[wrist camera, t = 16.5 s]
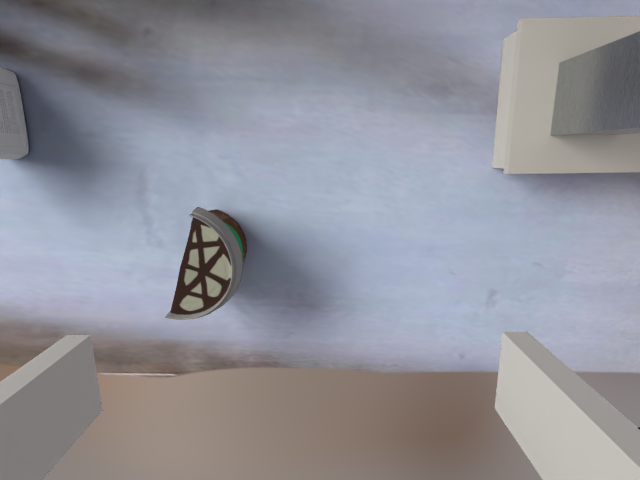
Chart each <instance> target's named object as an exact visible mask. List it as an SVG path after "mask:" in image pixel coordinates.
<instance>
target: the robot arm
mask: <svg viewBox="0 0 640 480" xmlns="http://www.w3.org/2000/svg"><path fill="white" fill-rule="evenodd" d="M102 409H103V408H102V402H101V396H100V390H99V384H98V379H97V372H96V366H95V360H94V354H93V348H92V342H91V336H90V335H67V336H65V337H64V338H62V339H61V340H59V341H58V342H57V343H55V344H54V345H52V346H51V347H49V348H48V349H47V350H45V351H44V352H42V353H41V354H39V355H38V356H37V357H35V358H34V359H32V360H31V361H29V362H28V363H27V364H25V365H24V366H22V367H21V368H19V369H18V370H17V371H15V372H14V373H12V374H11V375H9V376H8V377H6V378H5V379H4V380H2V381H1V382H0V480H43V479H44V477H45V476H46V475H47V474H48V473H49V472H50V470H51V469H52V468H53V467H54V466H55V465H56V464H57V462H58V461H59V460H60V459H61V458H62V457H63V455H64V454H65V453H66V452H67V451H68V450H69V449H70V447H71V446H72V445H73V444H74V443H75V442H76V441H77V439H78V438H79V437H80V436H81V435H82V434H83V433H84V431H85V430H86V429H87V428H88V427H89V426H90V424H91V423H92V422H93V421H94V419H96V418H97V416H98V415H99V414H100V413H101V412H102V411H103V410H102ZM495 409H496V411H497V412H498V414H499V415H500V417H501V418H502V420H503V421H504V423H505V424H506V426H507V427H508V429H509V430H510V432H511V433H512V435H513V436H514V437H515V439H516V441H517V442H518V443H519V445H520V446H521V448H522V449H523V451H524V452H525V454H526V455H527V457H528V458H529V460H530V461H531V463H532V464H533V466H534V467H535V469H536V470H537V472H538V473H539V475H540V476H541V478H542V479H543V480H640V428H637V427H636V426H635V425H634V424H632V423H631V422H630V421H629V420H628V419H627V418H626V417H625V416H623V415H622V414H621V413H620V412H619V411H618V410H616V409H615V408H614V407H613V406H612V405H611V404H610V403H608V402H607V401H606V400H605V399H604V398H603V397H602V396H600V395H599V394H598V393H597V392H596V391H595V390H593V389H592V388H591V387H590V386H589V385H588V384H587V383H585V382H584V381H583V380H582V379H581V378H580V377H579V376H577V375H576V374H575V373H574V372H573V371H572V370H571V369H569V368H568V367H567V366H566V365H565V364H564V363H563V362H561V361H560V360H559V359H558V358H557V357H556V356H554V355H553V354H552V353H551V352H550V351H549V350H548V349H546V348H545V347H544V346H543V345H542V344H541V343H540V342H538V341H537V340H536V339H535V338H534V337H533V336H532V335H530V334H529V333H528V332H503V334H502V344H501V353H500V363H499V373H498V383H497V392H496V402H495Z"/></svg>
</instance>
